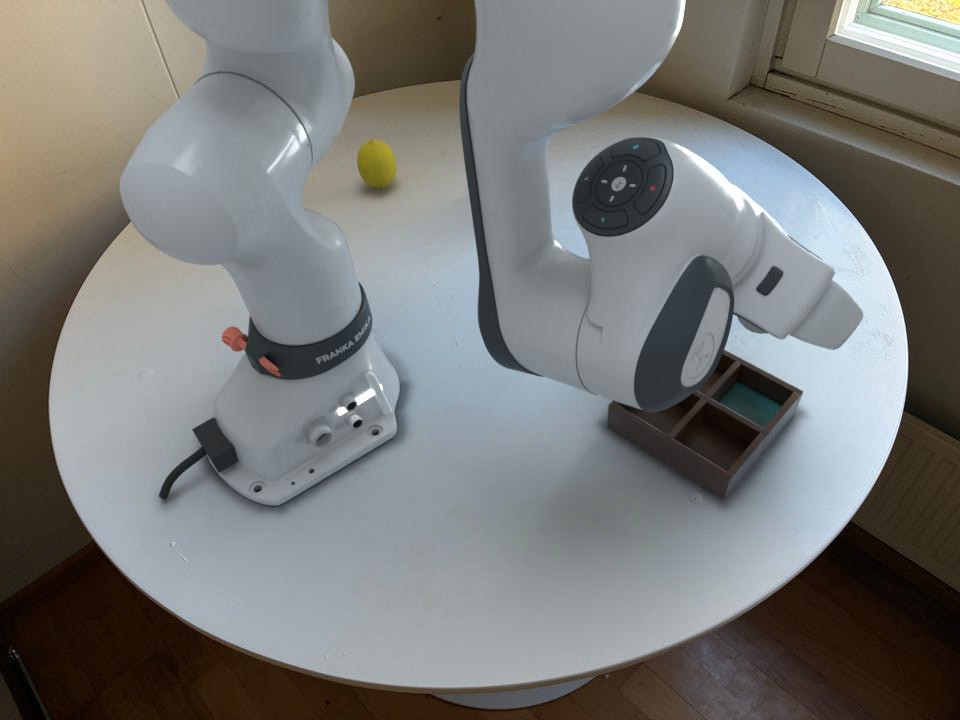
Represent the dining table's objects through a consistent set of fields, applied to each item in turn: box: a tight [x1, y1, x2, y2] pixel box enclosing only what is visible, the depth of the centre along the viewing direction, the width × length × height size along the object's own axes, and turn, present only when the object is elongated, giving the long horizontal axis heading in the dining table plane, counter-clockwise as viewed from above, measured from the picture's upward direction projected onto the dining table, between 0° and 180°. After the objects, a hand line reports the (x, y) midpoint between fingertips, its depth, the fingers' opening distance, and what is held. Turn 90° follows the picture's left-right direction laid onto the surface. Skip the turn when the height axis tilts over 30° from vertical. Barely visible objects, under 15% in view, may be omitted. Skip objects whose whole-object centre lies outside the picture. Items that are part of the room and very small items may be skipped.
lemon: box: [356, 139, 397, 189], centre depth 111 cm, size 6×6×8 cm
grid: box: [606, 349, 804, 501], centre depth 80 cm, size 14×14×4 cm
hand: (773, 283), depth 71 cm, fingers closed on rook chess piece, 3 cm apart
